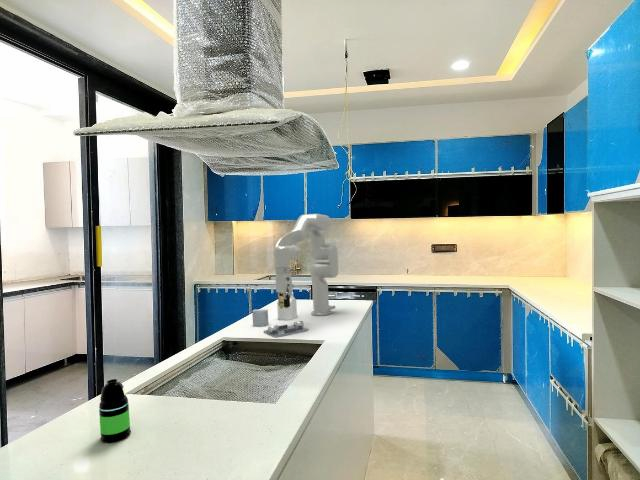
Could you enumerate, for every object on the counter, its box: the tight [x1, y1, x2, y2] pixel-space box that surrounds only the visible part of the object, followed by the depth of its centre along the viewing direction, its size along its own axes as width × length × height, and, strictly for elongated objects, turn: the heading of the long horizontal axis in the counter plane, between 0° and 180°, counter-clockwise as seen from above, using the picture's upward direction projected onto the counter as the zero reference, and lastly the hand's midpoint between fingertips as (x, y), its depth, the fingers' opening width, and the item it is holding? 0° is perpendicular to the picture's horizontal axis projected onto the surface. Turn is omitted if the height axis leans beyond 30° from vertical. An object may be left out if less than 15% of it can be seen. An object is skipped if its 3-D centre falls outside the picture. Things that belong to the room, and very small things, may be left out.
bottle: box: [98, 378, 132, 444], centre depth 110 cm, size 7×7×15 cm
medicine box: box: [251, 308, 270, 327], centre depth 231 cm, size 8×4×9 cm, turn 84°
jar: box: [276, 291, 298, 321], centre depth 247 cm, size 12×10×15 cm
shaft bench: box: [263, 320, 309, 338], centre depth 214 cm, size 19×13×4 cm
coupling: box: [279, 295, 289, 308], centre depth 213 cm, size 5×5×6 cm
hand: (284, 305), depth 213 cm, fingers closed on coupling, 4 cm apart
